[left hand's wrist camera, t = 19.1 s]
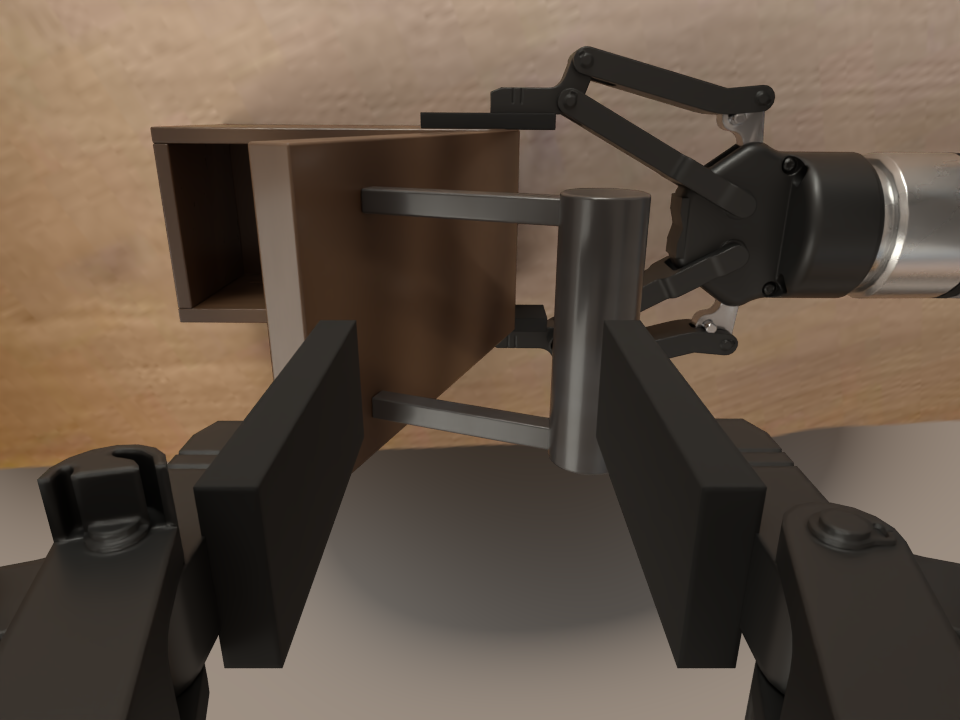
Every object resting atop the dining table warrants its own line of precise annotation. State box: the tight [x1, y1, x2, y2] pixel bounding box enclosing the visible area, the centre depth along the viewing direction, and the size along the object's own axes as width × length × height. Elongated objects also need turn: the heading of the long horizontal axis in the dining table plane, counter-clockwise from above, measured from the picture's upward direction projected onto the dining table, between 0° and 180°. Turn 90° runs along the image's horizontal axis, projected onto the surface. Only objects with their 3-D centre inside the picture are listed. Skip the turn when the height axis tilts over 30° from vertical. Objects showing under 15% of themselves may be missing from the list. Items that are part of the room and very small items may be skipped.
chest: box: [151, 124, 506, 323], centre depth 37 cm, size 17×10×9 cm, turn 90°
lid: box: [248, 129, 651, 475], centre depth 23 cm, size 17×10×9 cm
